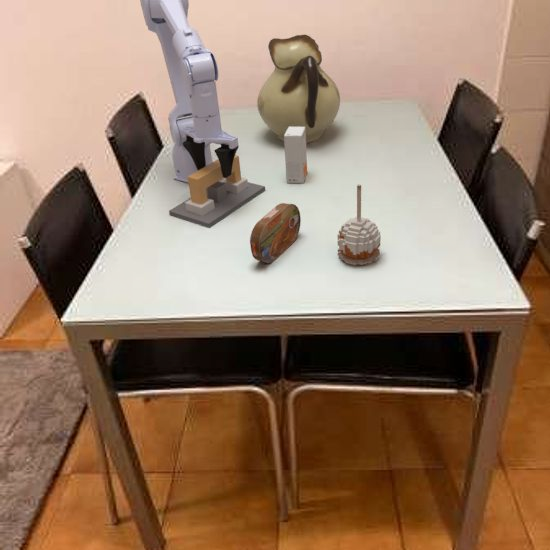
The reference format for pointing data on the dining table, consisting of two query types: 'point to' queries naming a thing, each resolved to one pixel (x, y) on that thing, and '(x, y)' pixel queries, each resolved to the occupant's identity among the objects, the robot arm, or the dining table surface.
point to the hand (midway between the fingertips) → (214, 172)
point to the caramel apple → (359, 238)
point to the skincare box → (295, 154)
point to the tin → (275, 232)
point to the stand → (218, 202)
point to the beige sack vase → (298, 89)
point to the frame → (210, 179)
